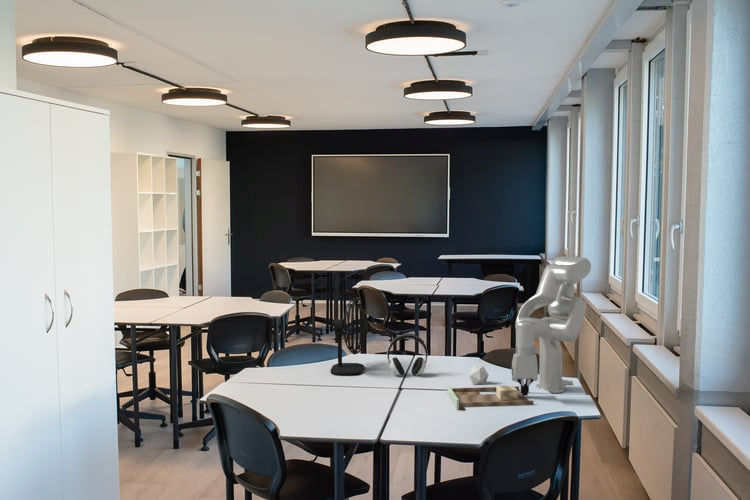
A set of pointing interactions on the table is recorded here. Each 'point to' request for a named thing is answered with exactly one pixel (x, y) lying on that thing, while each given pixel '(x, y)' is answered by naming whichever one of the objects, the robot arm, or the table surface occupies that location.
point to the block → (506, 392)
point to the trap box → (486, 398)
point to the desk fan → (340, 329)
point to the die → (478, 375)
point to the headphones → (419, 362)
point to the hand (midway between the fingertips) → (524, 394)
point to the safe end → (453, 397)
